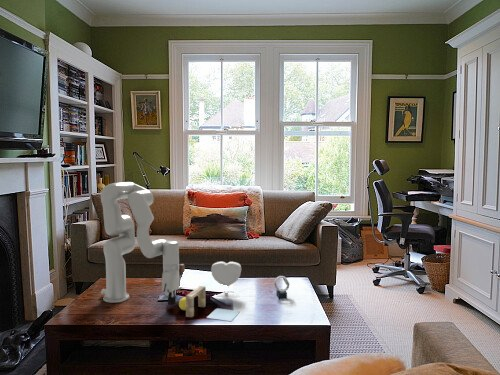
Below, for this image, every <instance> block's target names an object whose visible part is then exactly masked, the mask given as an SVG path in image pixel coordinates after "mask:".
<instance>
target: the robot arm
mask: <svg viewBox="0 0 500 375" xmlns="http://www.w3.org/2000/svg"><path fill="white" fill-rule="evenodd" d="M125 199H127V203H128V205H129V208H130V210H131V212H132V215H133V218H134V219H135V222H136V224H137V226H136V234H135V224H134V221H133V219H132V217H131V216H130V215H128V214H122V209H121V205H120V203H119V202H118V201H119V200H125ZM154 200H155V198H154V195H153V193H152V192H151V190H148V189H147V188H145V187H143V186H140V185H139V184H137V183H135V182H132V181H123V182H122V181H120V182H113V183H109V184H107V185H105V186H104V187H103V188H102V190H101V193H100V201H101V205H102V212H103V222H104V223H103V224H104V225H103V226H104V230H105V231H104V232H105V233H106V234H107V235H108V236H116V237H112V238H109V239H108V240H106V241H105V243H104V244H103V254H104V258H105V260H104V261H105V274H106V275H105V281H106V282H105V284H106V285H105V286H106V288H101V291H100V294H101V295H104V296H103V302H106V303H108V304H110V303H112V304H113V303H114V304H116V303H122V302H126V301H127V300H129V299H130V294H129V293H127V277H126V276H127V275H126V272H127V271H126V269H127V268H126V267H127V266H126V260H125V259H124V257H123V255H126V254H129V253H131V252H132V251H133V250H134V249H135V247H136V242H137V244H138V247H139V250H140V251H141V253H142V254H143V256H144V257H146V258H147V259H153V258H155V257H159V256H161V255H162V265H163V266H162V268H163V269H162V270H163V271H162V274H161V292H163V293H164V295H165V296H166V297H167V305H169V306H174V305H176V296H177V295H176V290H177V289H178V290H179V288H180V287H179V286H180V276H179V264H180V247H179V246H180V245H179V242H178V241H176V240H167V239H163V238H158V239H156V240H152V239H151V236H150V226H151V225H152V222H154V219H155V216H154V214H153V212H152V209H151V208H150V206H152V204H154ZM117 235H118V236H117ZM169 292H170V293H169Z"/></svg>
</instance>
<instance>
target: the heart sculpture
mask: <svg viewBox="0 0 500 375" xmlns="http://www.w3.org/2000/svg"><path fill="white" fill-rule="evenodd" d="M241 265H242V264H240V263H239V262H236V261H229V262H225V261H216V262H214V263H213V264H212V265H211V268H210V269H211V270H210V272H211V276H212V278H213V279H214V280H215V281H216V282H217V283H218V284H220V285H221V284H223V285H227V286H228V287H230V286H231V285H233V284H234V283H236V282H237V281H238V280H239V279H240V277H241V274H242V273H241V272H242V266H241ZM223 285H222V286H223ZM220 294H221V293H220ZM216 297H222V298H223V299H225V298H227V299H237V298H239V297H240V295H239V294H234V293H229V292H228V293H225V292H224V293H222V294H221V295H218V296H216ZM222 298H221V299H222Z"/></svg>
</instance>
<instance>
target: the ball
mask: <svg viewBox="0 0 500 375" xmlns="http://www.w3.org/2000/svg"><path fill="white" fill-rule="evenodd" d="M178 306H179V308H180V309H181V311H186V296H183V297H182V298H180V300H179V301H178Z"/></svg>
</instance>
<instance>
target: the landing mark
mask: <svg viewBox="0 0 500 375" xmlns="http://www.w3.org/2000/svg"><path fill="white" fill-rule="evenodd" d="M240 312H241V311H240V310H232V309H226V308H218V307H217V308H215V309H214V310H213V311H212V312H211V313H210V314H209V315H207V316H206V319H211V320H217V321H225V322H232V321H233V320H234V319H235V318H236V317H237V316H238V314H239V313H240Z"/></svg>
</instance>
